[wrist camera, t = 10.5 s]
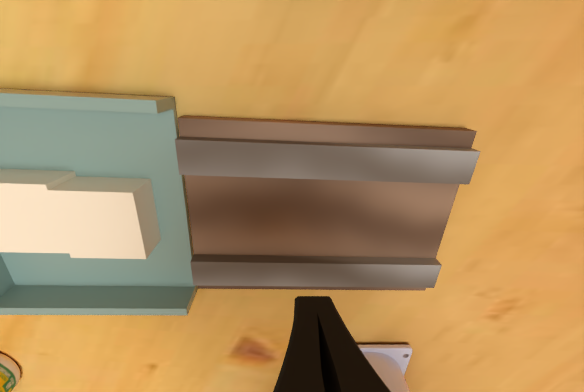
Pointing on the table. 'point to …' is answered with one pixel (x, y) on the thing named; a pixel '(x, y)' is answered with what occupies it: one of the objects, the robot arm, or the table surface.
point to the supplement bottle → (8, 373)
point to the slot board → (319, 201)
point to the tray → (99, 163)
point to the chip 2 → (107, 217)
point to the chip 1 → (30, 211)
